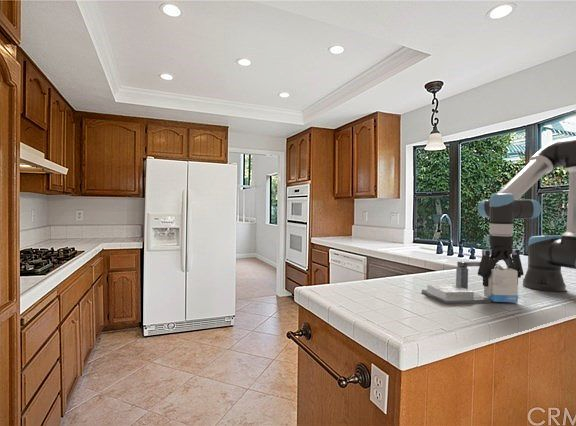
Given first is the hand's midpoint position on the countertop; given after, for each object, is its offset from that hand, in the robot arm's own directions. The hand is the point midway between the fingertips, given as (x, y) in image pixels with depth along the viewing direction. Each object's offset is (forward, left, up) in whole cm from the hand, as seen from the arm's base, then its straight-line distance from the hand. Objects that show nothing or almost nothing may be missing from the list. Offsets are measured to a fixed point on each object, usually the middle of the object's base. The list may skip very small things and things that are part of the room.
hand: (500, 294), depth 124 cm
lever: (+2, -11, +8) cm, 14 cm away
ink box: (0, 0, -2) cm, 2 cm away
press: (+14, -6, -2) cm, 16 cm away
